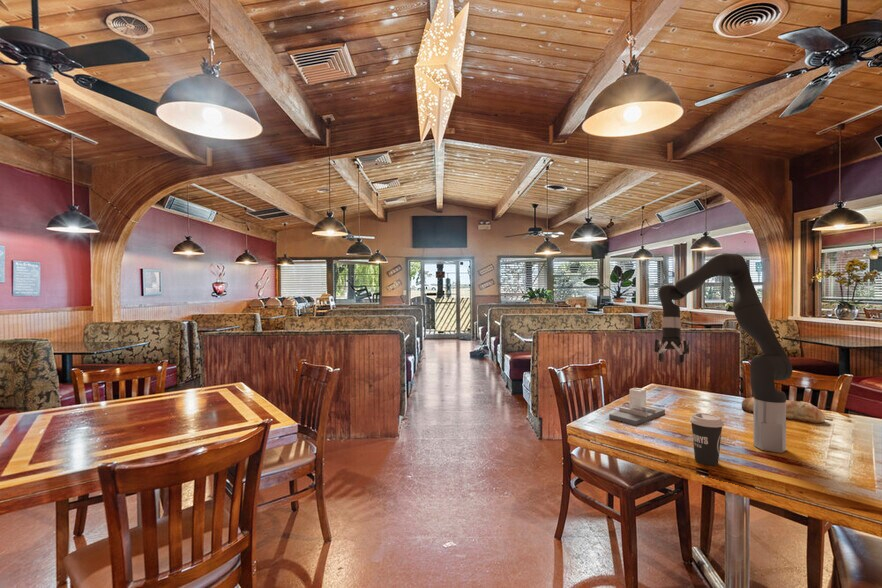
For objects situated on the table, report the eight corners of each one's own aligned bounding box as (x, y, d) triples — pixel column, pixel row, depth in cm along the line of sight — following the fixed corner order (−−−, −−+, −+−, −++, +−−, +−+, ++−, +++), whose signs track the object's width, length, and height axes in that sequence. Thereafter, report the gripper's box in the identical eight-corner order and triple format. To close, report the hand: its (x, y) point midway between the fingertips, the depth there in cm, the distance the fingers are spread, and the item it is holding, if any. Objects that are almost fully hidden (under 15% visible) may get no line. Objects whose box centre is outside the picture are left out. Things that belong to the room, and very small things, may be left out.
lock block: (646, 411, 188) (646, 389, 188) (640, 414, 185) (640, 391, 185) (635, 409, 192) (635, 387, 192) (629, 411, 189) (629, 388, 189)
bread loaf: (732, 416, 192) (733, 396, 192) (734, 405, 206) (735, 386, 206) (837, 434, 171) (838, 411, 171) (831, 420, 185) (832, 400, 185)
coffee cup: (694, 453, 146) (694, 410, 146) (727, 461, 139) (727, 416, 139) (685, 461, 139) (685, 416, 139) (719, 470, 133) (719, 422, 132)
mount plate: (664, 413, 192) (664, 405, 192) (636, 425, 176) (635, 417, 176) (638, 408, 202) (638, 400, 202) (609, 418, 186) (609, 410, 186)
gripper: (652, 326, 199) (651, 361, 197) (684, 326, 188) (684, 363, 186) (659, 327, 204) (659, 361, 202) (691, 328, 192) (691, 364, 190)
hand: (671, 362), depth 194 cm, fingers open, 8 cm apart
